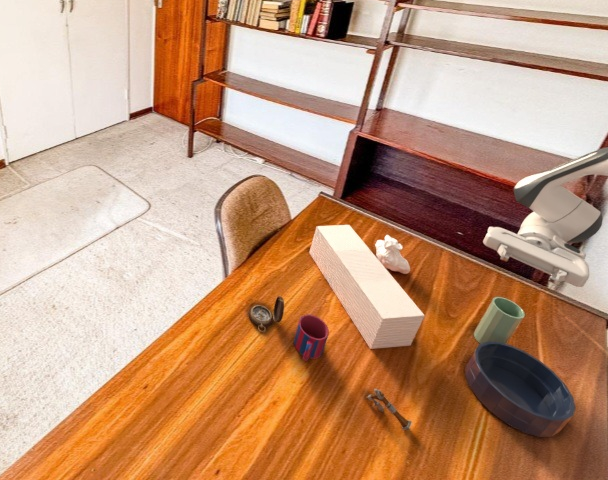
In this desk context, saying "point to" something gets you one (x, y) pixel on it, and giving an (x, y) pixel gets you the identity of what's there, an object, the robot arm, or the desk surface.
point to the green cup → (499, 321)
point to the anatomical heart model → (391, 255)
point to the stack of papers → (365, 288)
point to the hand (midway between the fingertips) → (528, 269)
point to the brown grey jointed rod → (390, 407)
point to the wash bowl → (519, 389)
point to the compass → (267, 314)
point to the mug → (310, 337)
